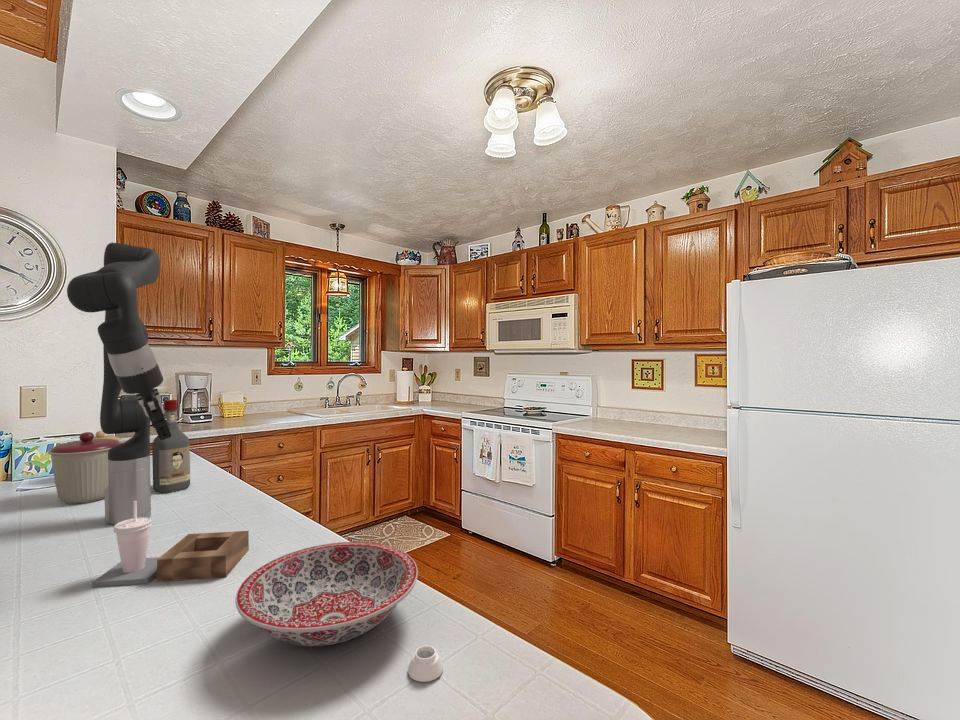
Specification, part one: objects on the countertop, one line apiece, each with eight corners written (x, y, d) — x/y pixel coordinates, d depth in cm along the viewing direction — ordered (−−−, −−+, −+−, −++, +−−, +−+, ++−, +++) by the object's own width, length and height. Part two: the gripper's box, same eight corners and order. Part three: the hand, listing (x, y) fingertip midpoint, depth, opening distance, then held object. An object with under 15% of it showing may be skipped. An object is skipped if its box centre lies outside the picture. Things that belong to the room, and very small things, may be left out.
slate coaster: (92, 587, 90) (92, 582, 90) (124, 563, 100) (124, 559, 100) (147, 583, 92) (147, 578, 92) (173, 560, 102) (173, 556, 102)
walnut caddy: (157, 581, 92) (156, 559, 92) (188, 553, 105) (188, 534, 105) (226, 577, 94) (225, 555, 94) (248, 549, 107) (248, 530, 107)
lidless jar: (406, 685, 64) (442, 683, 64) (406, 665, 64) (442, 662, 64) (409, 661, 69) (443, 659, 69) (409, 642, 69) (442, 640, 69)
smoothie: (160, 562, 99) (159, 497, 98) (134, 576, 92) (133, 508, 92) (133, 560, 99) (131, 496, 99) (106, 575, 93) (104, 506, 93)
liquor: (150, 490, 153) (149, 400, 152) (180, 483, 160) (179, 398, 160) (162, 495, 148) (160, 402, 147) (192, 488, 155) (191, 399, 155)
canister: (134, 496, 147) (133, 430, 146) (60, 513, 132) (58, 440, 131) (111, 487, 157) (109, 425, 156) (39, 501, 141) (38, 433, 141)
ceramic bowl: (191, 657, 70) (190, 605, 70) (320, 570, 97) (319, 533, 97) (352, 708, 60) (351, 648, 59) (445, 595, 87) (445, 554, 87)
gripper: (161, 372, 94) (187, 436, 101) (151, 350, 104) (176, 411, 111) (117, 384, 90) (148, 451, 97) (111, 361, 100) (139, 423, 107)
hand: (162, 429), depth 104 cm, fingers open, 8 cm apart
